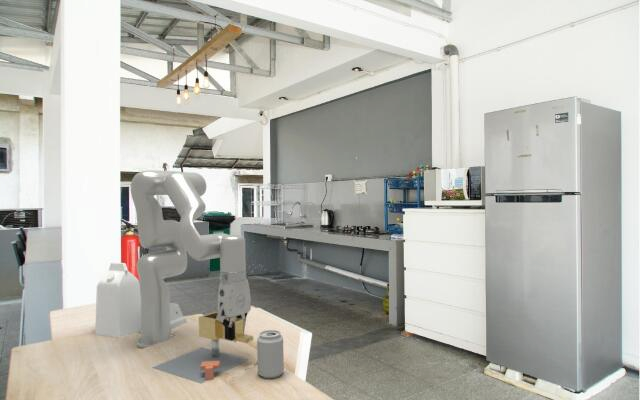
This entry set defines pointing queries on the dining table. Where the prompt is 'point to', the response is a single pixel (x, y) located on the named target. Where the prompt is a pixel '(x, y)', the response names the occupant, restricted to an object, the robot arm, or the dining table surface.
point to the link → (221, 328)
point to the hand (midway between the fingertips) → (234, 336)
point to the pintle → (215, 348)
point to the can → (270, 354)
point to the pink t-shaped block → (209, 368)
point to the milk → (118, 302)
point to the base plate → (198, 364)
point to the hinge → (176, 316)
